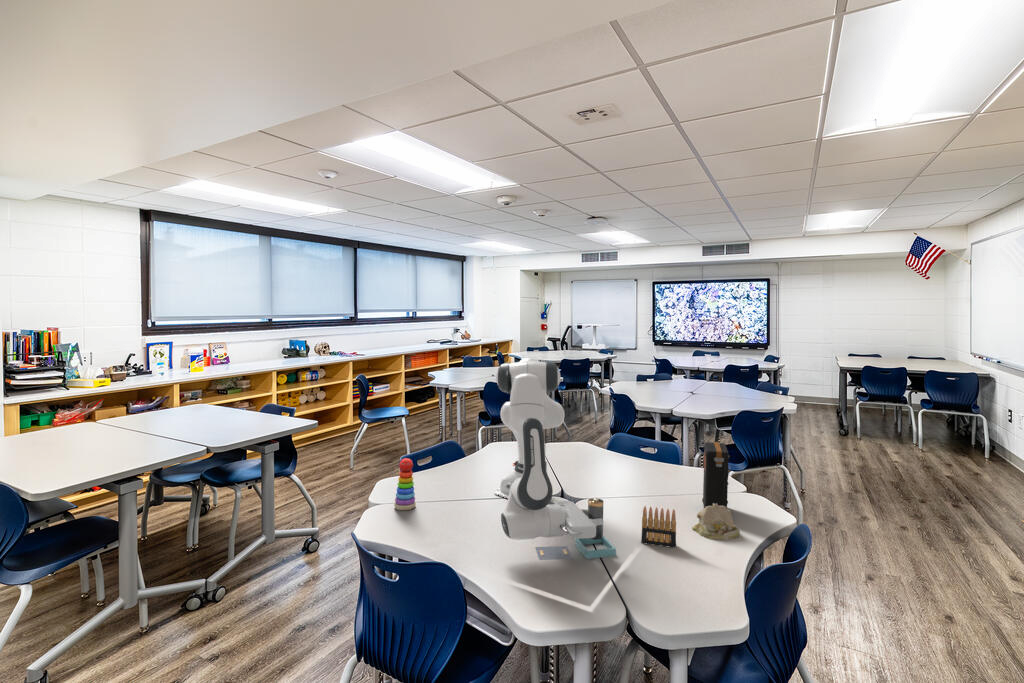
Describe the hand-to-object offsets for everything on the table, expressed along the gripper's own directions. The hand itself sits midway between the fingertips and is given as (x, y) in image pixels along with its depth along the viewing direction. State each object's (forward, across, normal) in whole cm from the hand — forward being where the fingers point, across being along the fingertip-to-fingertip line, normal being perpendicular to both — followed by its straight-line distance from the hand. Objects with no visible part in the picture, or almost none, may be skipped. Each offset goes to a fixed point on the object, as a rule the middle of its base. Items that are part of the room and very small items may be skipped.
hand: (598, 516), depth 149 cm
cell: (-1, 0, +6) cm, 6 cm away
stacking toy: (-57, +50, +11) cm, 77 cm away
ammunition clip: (+22, +1, +12) cm, 24 cm away
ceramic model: (+45, +5, +12) cm, 47 cm away
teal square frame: (-1, 0, +11) cm, 11 cm away
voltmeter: (+56, +20, +11) cm, 61 cm away
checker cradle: (-14, +1, +11) cm, 18 cm away
